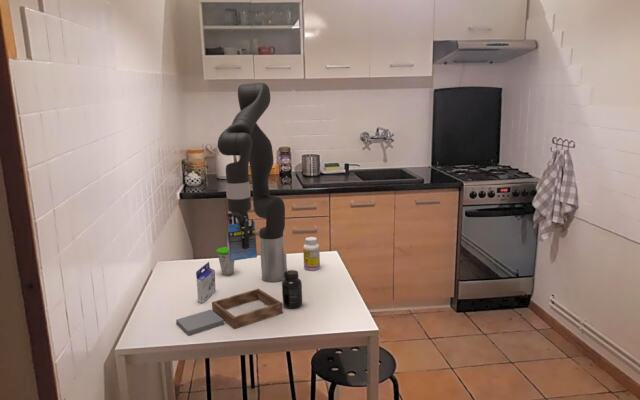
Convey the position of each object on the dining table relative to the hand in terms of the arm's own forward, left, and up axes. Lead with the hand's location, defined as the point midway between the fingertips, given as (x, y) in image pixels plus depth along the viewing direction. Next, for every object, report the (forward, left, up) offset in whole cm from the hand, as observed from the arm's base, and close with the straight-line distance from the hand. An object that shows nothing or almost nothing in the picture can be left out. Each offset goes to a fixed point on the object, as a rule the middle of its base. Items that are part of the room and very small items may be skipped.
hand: (241, 246), depth 165 cm
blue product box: (0, 0, -4) cm, 4 cm away
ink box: (+5, -21, -24) cm, 32 cm away
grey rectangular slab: (+16, -2, -23) cm, 28 cm away
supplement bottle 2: (-41, -20, -24) cm, 52 cm away
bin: (0, 0, -23) cm, 23 cm away
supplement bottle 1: (-15, +5, -24) cm, 29 cm away
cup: (-11, -37, -24) cm, 45 cm away
